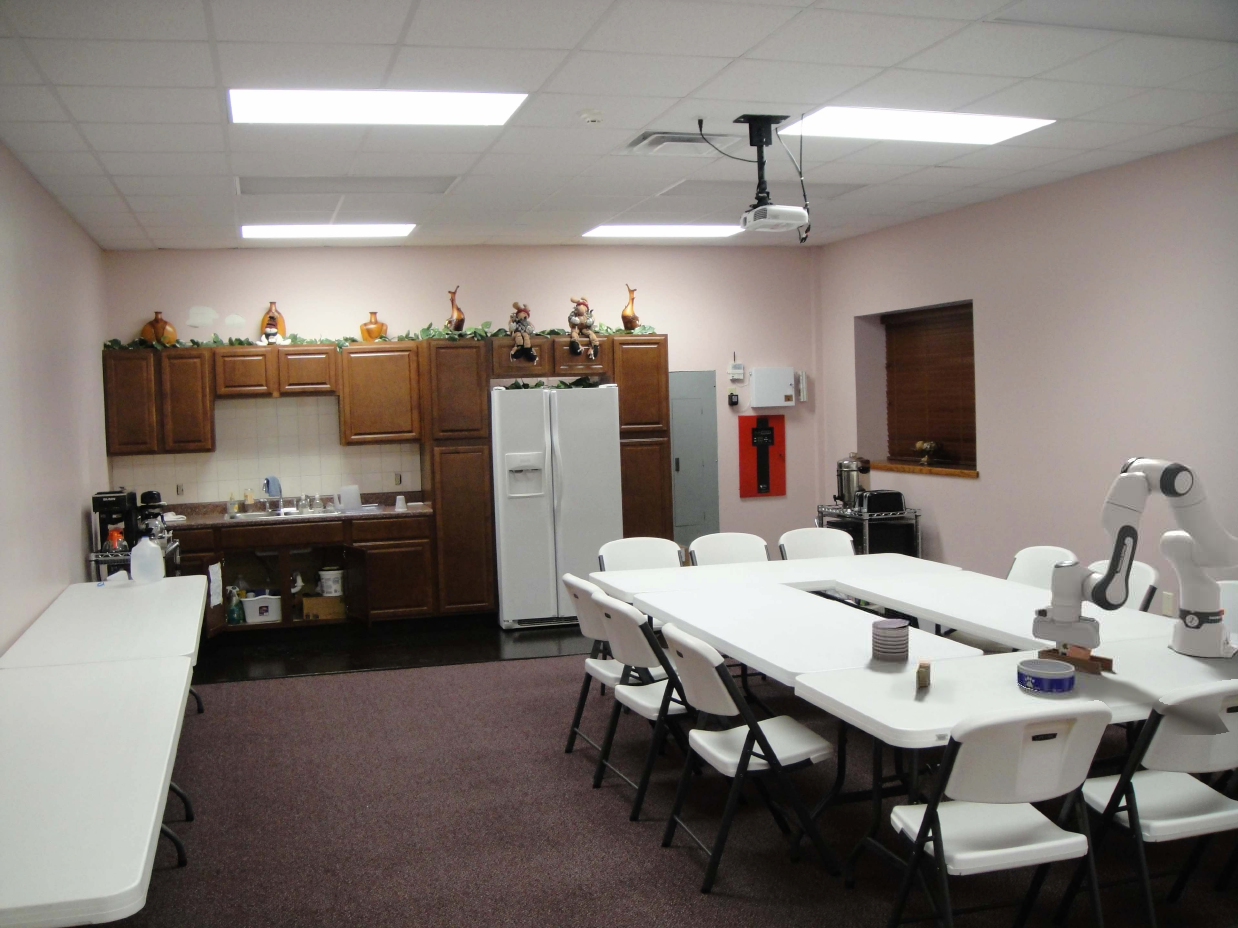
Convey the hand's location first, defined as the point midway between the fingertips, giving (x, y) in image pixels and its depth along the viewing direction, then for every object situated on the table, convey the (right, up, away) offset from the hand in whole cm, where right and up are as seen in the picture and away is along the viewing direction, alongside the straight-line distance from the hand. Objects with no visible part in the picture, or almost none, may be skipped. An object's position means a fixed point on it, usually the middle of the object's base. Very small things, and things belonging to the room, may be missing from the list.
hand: (1065, 657), depth 307 cm
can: (-52, -2, +9) cm, 53 cm away
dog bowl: (-16, -4, -22) cm, 27 cm away
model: (-52, -5, -24) cm, 57 cm away
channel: (+2, -2, -2) cm, 4 cm away
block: (+2, -2, -3) cm, 4 cm away
